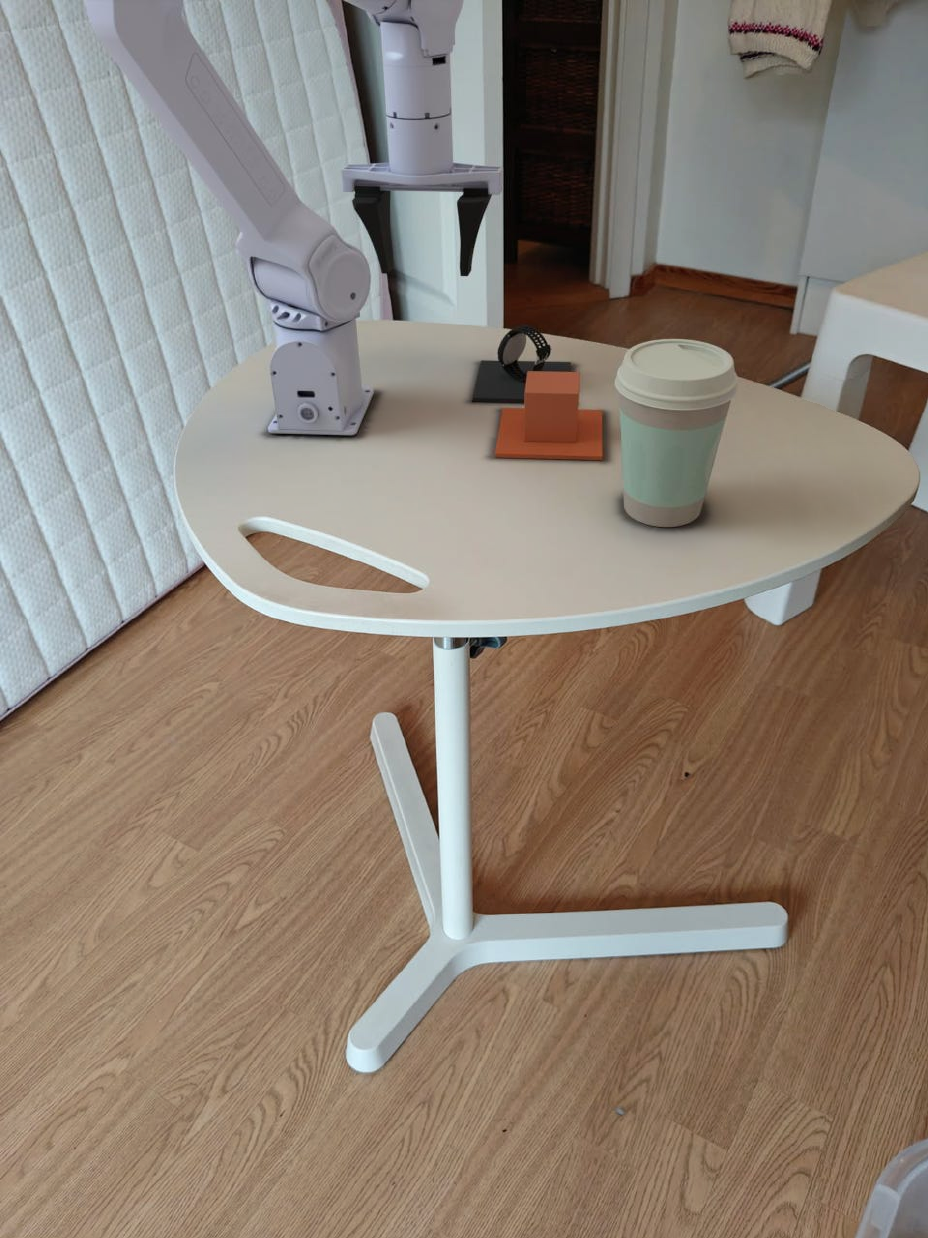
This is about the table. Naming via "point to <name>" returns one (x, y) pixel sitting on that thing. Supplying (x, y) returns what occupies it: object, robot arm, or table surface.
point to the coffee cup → (671, 426)
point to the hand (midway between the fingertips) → (426, 271)
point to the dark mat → (507, 381)
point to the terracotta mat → (583, 449)
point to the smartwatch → (521, 350)
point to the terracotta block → (551, 406)
